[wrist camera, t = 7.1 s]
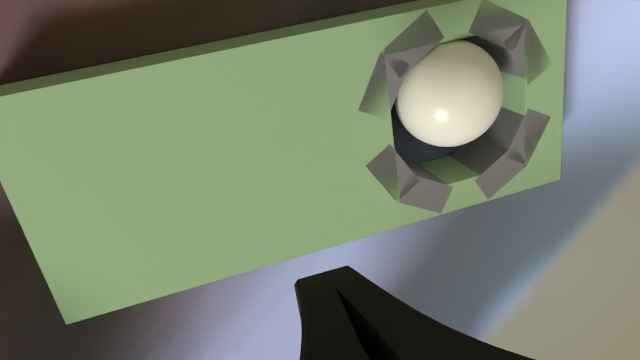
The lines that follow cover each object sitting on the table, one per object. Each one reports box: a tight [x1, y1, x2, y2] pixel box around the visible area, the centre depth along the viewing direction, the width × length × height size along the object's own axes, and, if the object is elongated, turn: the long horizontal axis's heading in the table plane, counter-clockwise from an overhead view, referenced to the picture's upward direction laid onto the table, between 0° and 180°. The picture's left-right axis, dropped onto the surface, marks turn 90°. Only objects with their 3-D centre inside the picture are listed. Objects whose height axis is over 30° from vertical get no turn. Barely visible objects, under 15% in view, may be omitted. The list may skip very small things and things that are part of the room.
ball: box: [394, 39, 504, 147], centre depth 19 cm, size 4×4×4 cm
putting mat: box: [0, 0, 567, 325], centre depth 19 cm, size 8×20×2 cm, turn 99°
